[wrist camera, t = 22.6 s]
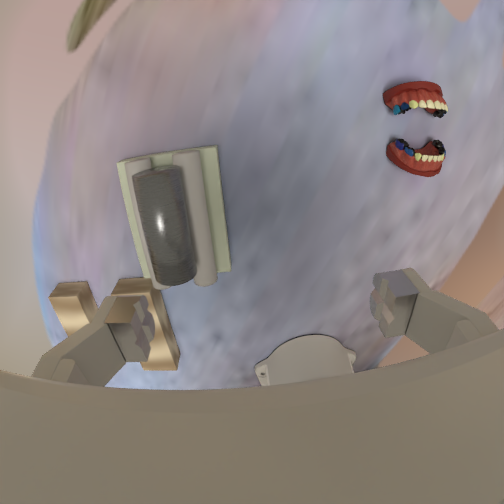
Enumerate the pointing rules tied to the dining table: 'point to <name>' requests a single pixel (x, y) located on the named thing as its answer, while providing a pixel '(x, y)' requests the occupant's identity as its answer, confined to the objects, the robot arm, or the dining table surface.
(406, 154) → the teeth model
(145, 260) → the plate with parallel rods
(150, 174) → the axle
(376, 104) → the dining table surface
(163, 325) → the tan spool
